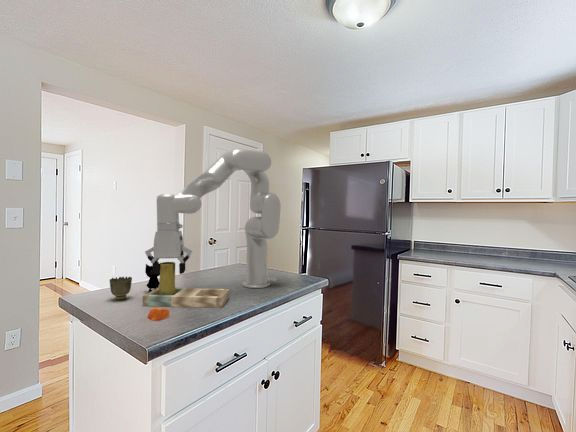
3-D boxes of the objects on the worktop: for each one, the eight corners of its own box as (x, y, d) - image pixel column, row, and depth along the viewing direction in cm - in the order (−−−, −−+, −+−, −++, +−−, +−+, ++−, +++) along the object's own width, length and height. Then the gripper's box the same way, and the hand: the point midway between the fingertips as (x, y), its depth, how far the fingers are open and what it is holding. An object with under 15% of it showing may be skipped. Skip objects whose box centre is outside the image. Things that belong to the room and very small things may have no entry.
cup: (111, 297, 112) (111, 276, 112) (132, 295, 115) (132, 275, 115) (107, 303, 105) (107, 281, 105) (130, 301, 108) (131, 279, 108)
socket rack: (229, 297, 114) (229, 289, 114) (221, 307, 102) (221, 297, 102) (158, 296, 115) (158, 287, 115) (142, 305, 103) (142, 296, 103)
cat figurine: (146, 295, 116) (147, 265, 116) (141, 291, 121) (141, 262, 121) (164, 292, 121) (165, 263, 121) (159, 288, 126) (159, 261, 126)
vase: (173, 303, 107) (174, 264, 106) (156, 303, 106) (156, 264, 105) (177, 298, 113) (178, 261, 112) (160, 299, 112) (161, 261, 111)
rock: (160, 310, 101) (161, 298, 101) (186, 317, 95) (186, 304, 95) (128, 321, 90) (128, 307, 90) (154, 329, 85) (155, 314, 85)
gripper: (194, 226, 112) (195, 271, 113) (150, 227, 113) (151, 271, 113) (187, 228, 105) (188, 275, 105) (139, 228, 105) (141, 275, 106)
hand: (169, 273), depth 109 cm, fingers open, 9 cm apart
